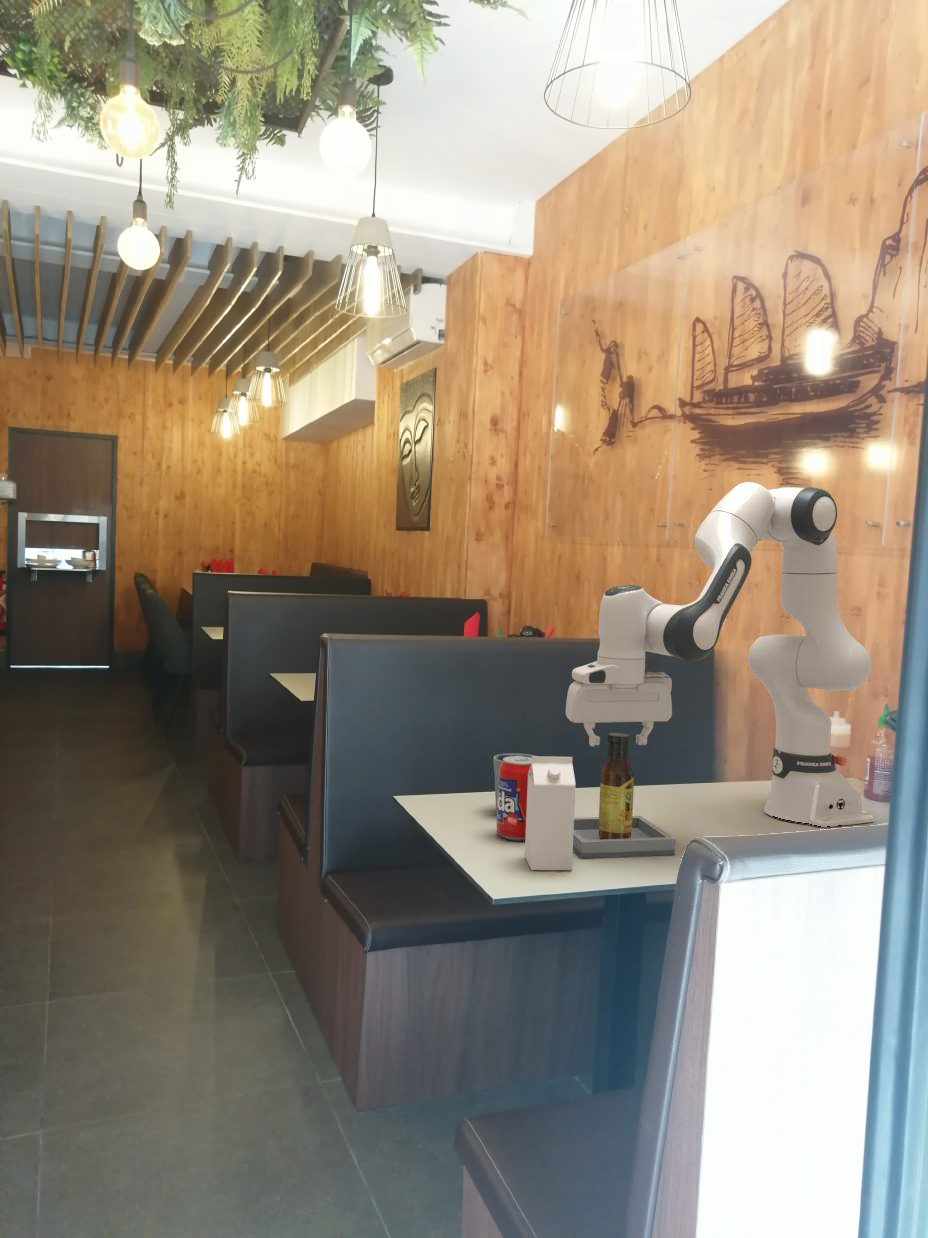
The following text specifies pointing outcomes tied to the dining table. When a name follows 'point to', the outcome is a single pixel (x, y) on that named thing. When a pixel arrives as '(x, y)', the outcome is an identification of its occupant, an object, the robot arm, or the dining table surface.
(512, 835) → the soda can
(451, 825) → the dining table surface
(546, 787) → the milk carton
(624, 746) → the sauce bottle
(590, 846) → the tray
